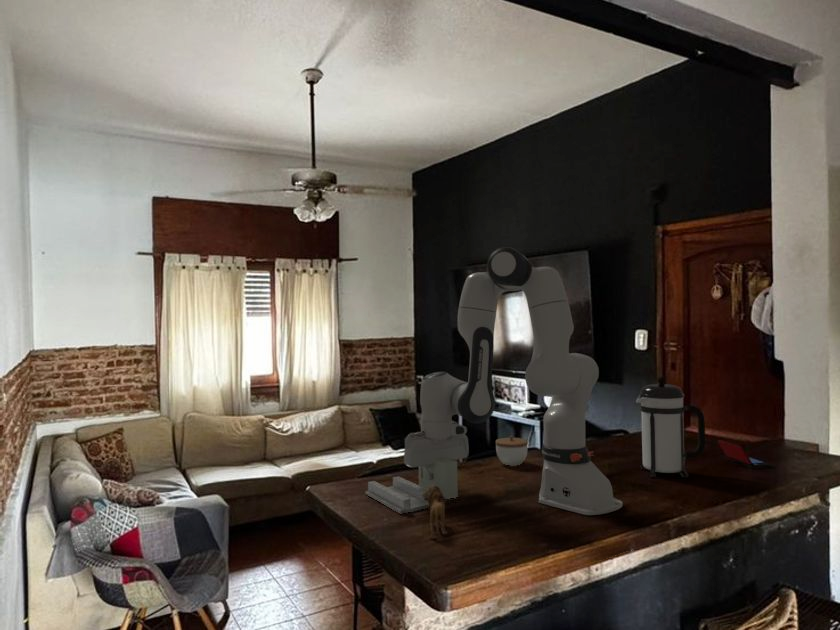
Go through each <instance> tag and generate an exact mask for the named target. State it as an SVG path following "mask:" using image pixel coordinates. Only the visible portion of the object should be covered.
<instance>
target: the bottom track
mask: <svg viewBox="0 0 840 630" xmlns="http://www.w3.org/2000/svg"><path fill="white" fill-rule="evenodd" d="M367 487H368V488H367V490H366V491H364V494H367V495H368V496H370V497H372V498H374V499H375V500H377V501H379V502H381V503H382V504H384V505H386V506H387V507H389V508H391V509H392V511H393V510H394V511H393V512H395V511H396V512H398V513H400V514H402V515H404V514H403V513H406V514H409V513H408V512H411V513H414V511H415V512H418V510H419V511H422V510H421V509H424V510H426V509H425V508H428V509H430V508H429V503H428V501H425V500H424V498H423V496H422V494H423V493H425V492H426V491H427V490H428V489H426V488H423V487H421V486H419V484H416V483H414V482H412V481H409V480H407V479H405V478H404V477H401V476H394V477H392V485H391V486H385V485H384V484H381V483H379V482H377V481H376V480H373V481H368V482H367ZM368 496H367V497H368ZM375 500H374V501H375ZM377 501H376V502H377ZM382 504H381V505H382ZM384 505H383V506H384ZM386 506H385V507H386ZM387 507H386V508H387ZM389 508H388V509H389ZM391 509H390V510H391ZM396 512H395V513H396ZM398 513H397V514H398ZM400 514H399V515H400Z"/></svg>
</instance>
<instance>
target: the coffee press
mask: <svg viewBox="0 0 840 630" xmlns="http://www.w3.org/2000/svg"><path fill="white" fill-rule="evenodd" d="M657 382H658V383H655V384H654V383H651V384H647V385H645V386H643V387H642V388H641V391H640V392H639V395H638V396H637V398H636V400H635V403H637V404H640V405H639V406H640V407H639V408H640V411H641V446H642V448H641V450H642V451H641V453H642V457H641V458H642V463H640V465H639V469H640V470H642V468H644V469H643V470H645V469H647V470H649V478H652V477H654V476H655V478H656V477H657V474H659V473H664V474H665V473H666V474H674V473H677V474H678V475H680V476H681V477H682V478H683V477H684V476H685V478H688V477H689V473H688V472H687V470H686V468H685V460H686V458H687V459H688V458H696V457H698V456H700V455H702V453H703V452H704V450H705V446H706V426H705V415H704V414H703V412H702V410H701V409H700V408H698V407H696V406H694V405H690V404H687V405H684V397H685V393H683V390H682V388H680V386H677V385H673V384H667V383H666V384H665V382H666V378H665V377H664V376H659V377H658V378H657ZM685 411H688V412H692V413H694V414H695V416H696V418H697V434H698V435H697V437H698V438H697V441H698V442H697V447H696V448H695V450H692V451H685V437H684V436H685V429H684V427H685V425H684V413H685ZM682 471H683V473H682ZM684 474H685V475H684ZM685 478H684V479H685Z"/></svg>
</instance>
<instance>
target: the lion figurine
mask: <svg viewBox="0 0 840 630" xmlns="http://www.w3.org/2000/svg"><path fill="white" fill-rule="evenodd" d="M422 496H423V498H424V500H425V501H428V503H429V507H430V508H429V524H428V525H430V526H429V527H430V536H429V538H430V539H436V535H435V529H436V533H437V535H438V537H439V539H440V540H444V537H443V535H447V534H448V530H446V528H445V525H446V518H445V515H446V511H445V509H446V507H445V506H446V500H445V498H444V496H443V494H442V492H441V491H440V489H439V487H437V486H436V485H430V486H429V488H428V490H427V491H426V492H425V493H423V494H422ZM440 524H441V527H440V529H441V532H442V534H443V535H442V534H441V532H440V529H439V525H440Z"/></svg>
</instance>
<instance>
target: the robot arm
mask: <svg viewBox="0 0 840 630" xmlns="http://www.w3.org/2000/svg"><path fill="white" fill-rule="evenodd" d="M486 268H487V270H486V271H484V272H483V271H481V272H479V271H478V272H473V273H471V274H469V275H468V276H466V279H465V281H464V284H463V286H462V290H461V295H460V299H459V305H458V310H457V331H458V332H459V334H460V336H461V337H462V338H463V339H464V341H465V342H466V344H467V346H468V349H469V364H468V365H469V367H468V378H467V379H468V381H464V380H461V379H460V378H459V379H458V378H457V377H454V376H453V375H451V374H449V373H448V372H446V371H436V372H431V373H429V374H426V375H425V376H424V377H423V378H422V380H421V384H420V395H419V396H420V400H419V403H420V408H421V415H420V431H417V432H410V433H409V434H408V435H407V436H406V437H405V438H404V454H403V462H404V465H405V466H407V467H409V468H418V467H419V466H422V469H423V470H424V472H425V475H426V480H433V473H430V471H429V470H428V468H430V464H434V463H435V460H436V459H442V458H449V459H452V460H454V461H457V460H462V459H463V460H464V459H467V457H468V456H469V453H470V450H469V448H470V447H469V437H468V436H467V435H466V434H467V433H468V428H467V427H466V426H465V425H462V424H459V423H456V422H452V421H453V419H452V417H453V416H455V415H458V416H460V417H462V418H463V419H464V420H466V421H467V422H468V423H471V424H482V423H484V422H486V421H487V420H489V418H491V416H492V415H493V413H494V411H495V408H496V399H495V396H494V393H493V386H492V380H493V379H492V378H493V366H494V365H493V364H494V349H495V348H494V345H495V344H494V340H495V337H494V336H495V327H496V318H497V310H498V304H499V303H498V302H499V299H500V297H501V295H503V296H505V295H510V294H514V293H516V294H517V293H519V292H523V293H524V295H525V298H526V303H527V307H528V312H529V318H530V323H531V324H530V325H531V329H532V335H533V347H532V349H533V350H532V355H531V360H530V362H529V364H528V366H527V367H526V370H525V372H524V373H525V375H524V379H525V380H524V381H525V383H526V386H527V388H528V389H529V391H530V392H531V393H533V394H535V395H537V396H542V397H548V398H551V401H550V404H549V407H548V409H547V410H546V411H545V413H544V415H543V443H542V445H541V446H542V449H541V452H542V453H541V454H542V455H541V457H542V458H543V467H542V474H541V485H540V490H539V494H538V503H540V504H542V505H546V506H550V507H553V508H554V507H555V508H558V509H562V510H564V511H565V510H566V511H569V512H573V513H576V514H580V515H584V516H596V515H597V516H598V515H604V514H608V513H611V512H615V511H617V510H619V509H622V507H623V506H624V505H623V504H624V503H623V501H622V500H620V499H618V498H616V497H614V493H613V486H612V484H611V481H610V480H609V478H607V477H606V475H605V474H603V472H602V471H601V470H600V469H599V468H598V467H597V466H596V465H595V464H594V463H593V462H592V461H591V460H592V458H591V457H592V456H594V454H593V453H594V451H593V450H591V451H589V449H588V446H587V445H586V417H587V409H588V405H589V402H590V401H589V400H590V396H591V393H592V390H593V388H594V386H595V384H596V383H597V382H598V379H599V375H600V373H599V372H600V369H599V366H598V364H597V362H596V360H594V359H593V358H592V357H591V356H589V355H585V354H582V353H577V352H571V353H570V349H569V348H570V339H571V336H572V335H573V332H574V328H575V327H574V326H575V325H574V321H573V318H572V313H571V308H570V303H569V299H568V295H567V292H566V288H565V286H564V282H563V280H562V278H561V276H560V273H559V271H558V270H557V269H555V268H554V267H551V266H538V267H535V266H533V265H532V263H531V262H530V261H529V260H528V259H527V257H526V256H525V255H524V254H523V253H521V251H520V250H517V249H516V248H514V247H509V246H505V247H499V248H497V249H496V250H494V251H493V252H492V253H491V254H490V256H489V257H488V259H487V263H486Z"/></svg>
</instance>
